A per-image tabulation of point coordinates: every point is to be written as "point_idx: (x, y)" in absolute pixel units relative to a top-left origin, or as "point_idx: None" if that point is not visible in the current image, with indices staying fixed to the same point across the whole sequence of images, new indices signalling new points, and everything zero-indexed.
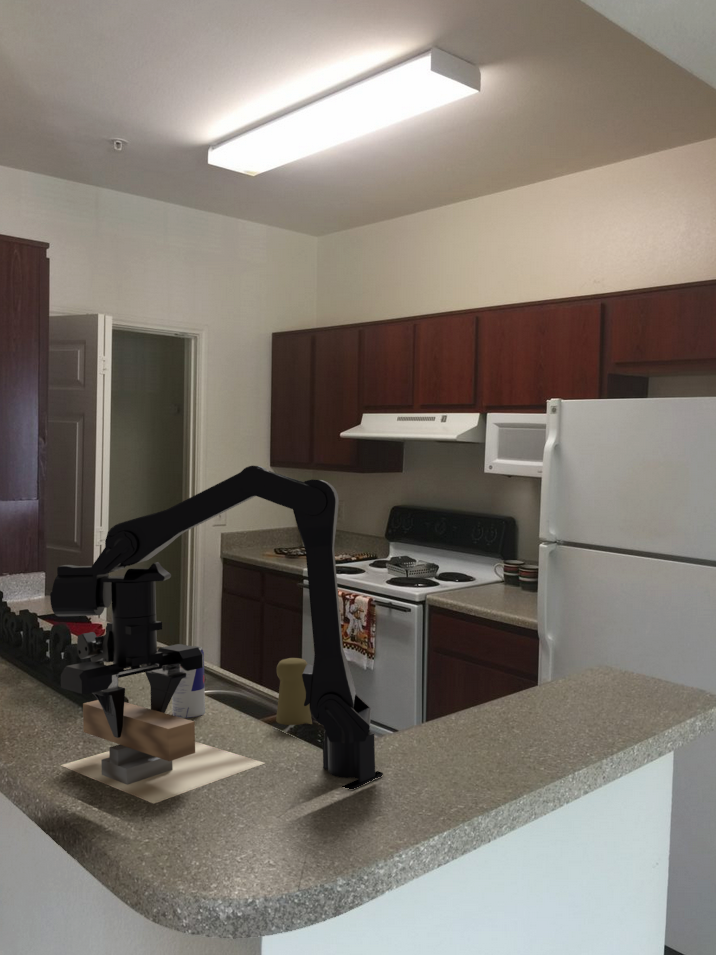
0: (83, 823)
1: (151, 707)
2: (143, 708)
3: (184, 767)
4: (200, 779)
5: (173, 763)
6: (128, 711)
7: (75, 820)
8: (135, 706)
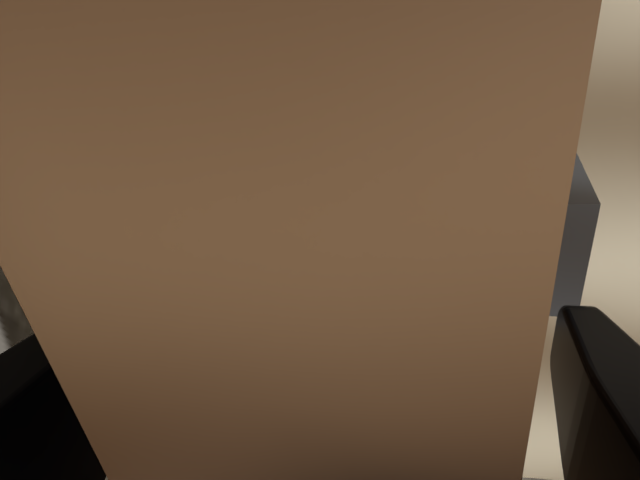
0: (26, 327)
1: (630, 473)
2: (476, 471)
3: (595, 286)
4: None
5: (619, 190)
6: (232, 422)
7: (3, 290)
8: (486, 301)
